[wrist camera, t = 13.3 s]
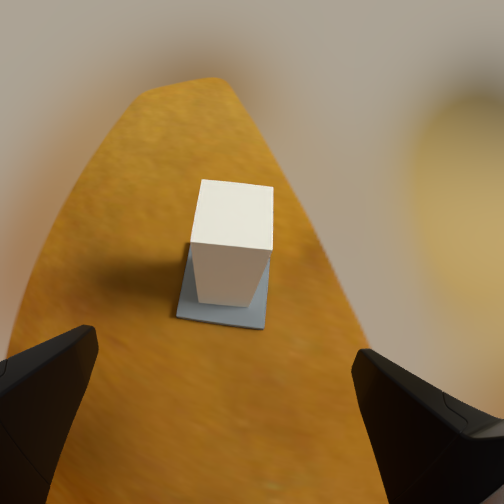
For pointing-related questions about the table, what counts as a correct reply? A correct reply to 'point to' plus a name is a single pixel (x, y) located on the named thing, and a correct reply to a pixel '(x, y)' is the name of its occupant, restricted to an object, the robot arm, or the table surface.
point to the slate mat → (222, 313)
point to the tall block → (231, 241)
